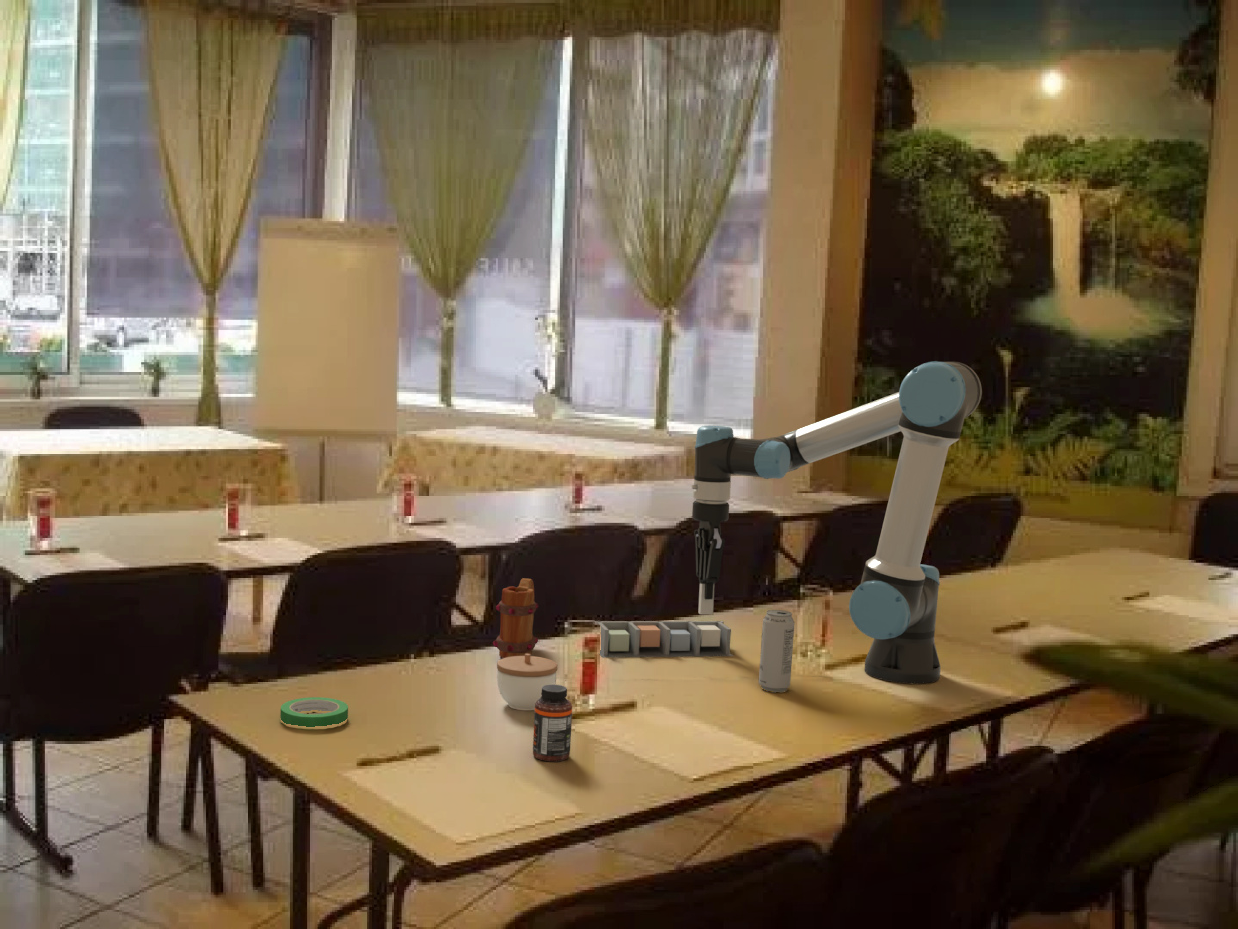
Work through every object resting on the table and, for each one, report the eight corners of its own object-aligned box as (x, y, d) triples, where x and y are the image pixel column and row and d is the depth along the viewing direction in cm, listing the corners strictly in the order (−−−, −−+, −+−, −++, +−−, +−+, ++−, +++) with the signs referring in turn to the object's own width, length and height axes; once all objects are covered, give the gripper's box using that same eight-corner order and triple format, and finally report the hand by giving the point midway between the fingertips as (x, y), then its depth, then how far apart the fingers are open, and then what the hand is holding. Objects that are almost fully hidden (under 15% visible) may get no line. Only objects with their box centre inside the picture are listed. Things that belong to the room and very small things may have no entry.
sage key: (628, 651, 291) (629, 634, 291) (609, 651, 290) (610, 634, 290) (623, 646, 295) (624, 629, 295) (605, 646, 294) (605, 629, 294)
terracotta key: (659, 646, 293) (660, 630, 292) (640, 646, 292) (641, 630, 291) (654, 642, 297) (655, 625, 296) (635, 642, 296) (636, 625, 295)
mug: (528, 666, 281) (531, 591, 279) (488, 661, 282) (491, 587, 281) (546, 649, 295) (550, 577, 293) (508, 645, 297) (512, 574, 295)
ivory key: (719, 646, 296) (720, 629, 296) (701, 646, 295) (702, 629, 295) (713, 641, 300) (714, 625, 299) (695, 641, 299) (696, 625, 298)
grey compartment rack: (733, 660, 294) (735, 630, 293) (601, 662, 287) (603, 631, 286) (718, 648, 304) (720, 619, 303) (590, 649, 297) (592, 620, 296)
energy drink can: (764, 683, 278) (769, 607, 276) (794, 688, 275) (799, 612, 274) (753, 690, 273) (758, 613, 271) (783, 695, 270) (789, 617, 268)
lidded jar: (509, 717, 247) (511, 664, 246) (485, 700, 256) (488, 649, 255) (565, 711, 252) (568, 659, 251) (540, 695, 261) (542, 645, 260)
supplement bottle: (531, 750, 229) (535, 681, 228) (568, 751, 230) (572, 682, 229) (532, 762, 223) (536, 692, 222) (570, 763, 224) (574, 693, 223)
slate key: (689, 650, 294) (690, 634, 294) (670, 650, 294) (671, 634, 293) (683, 645, 298) (684, 629, 298) (665, 646, 297) (666, 629, 297)
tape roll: (317, 736, 231) (317, 720, 231) (266, 723, 237) (266, 707, 236) (361, 720, 241) (361, 705, 241) (311, 708, 246) (311, 693, 246)
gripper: (684, 496, 299) (678, 607, 301) (703, 505, 286) (698, 620, 289) (718, 496, 301) (712, 606, 303) (739, 505, 288) (733, 620, 291)
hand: (705, 613), depth 296 cm, fingers closed
